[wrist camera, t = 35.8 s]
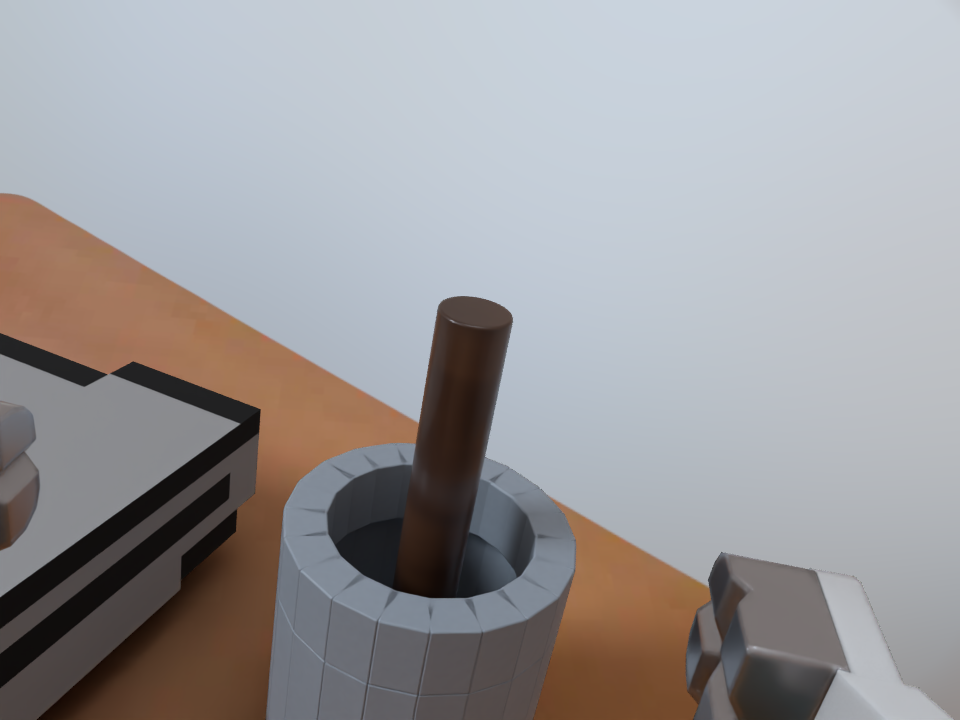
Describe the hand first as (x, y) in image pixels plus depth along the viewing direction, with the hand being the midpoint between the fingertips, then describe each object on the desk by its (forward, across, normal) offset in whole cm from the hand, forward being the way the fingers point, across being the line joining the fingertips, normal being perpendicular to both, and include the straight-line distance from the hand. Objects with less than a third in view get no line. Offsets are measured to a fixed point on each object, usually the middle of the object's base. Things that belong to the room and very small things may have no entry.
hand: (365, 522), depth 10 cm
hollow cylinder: (+15, 0, +22) cm, 27 cm away
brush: (+15, 0, +22) cm, 26 cm away
